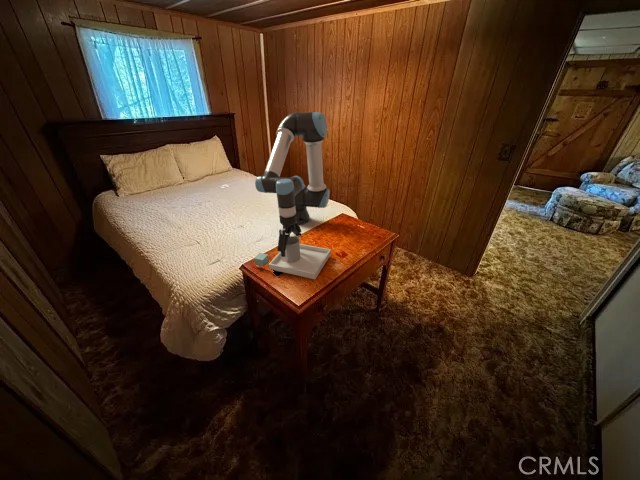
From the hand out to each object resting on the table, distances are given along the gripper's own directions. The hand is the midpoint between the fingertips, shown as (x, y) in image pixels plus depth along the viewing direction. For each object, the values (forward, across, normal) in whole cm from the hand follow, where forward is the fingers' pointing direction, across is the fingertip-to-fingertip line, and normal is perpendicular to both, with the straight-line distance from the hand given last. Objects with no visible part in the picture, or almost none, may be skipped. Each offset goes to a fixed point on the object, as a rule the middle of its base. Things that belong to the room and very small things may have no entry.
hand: (291, 253), depth 125 cm
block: (+5, +7, -13) cm, 16 cm away
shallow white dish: (+5, 0, +5) cm, 7 cm away
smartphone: (+5, +7, -6) cm, 11 cm away
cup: (+3, 0, 0) cm, 3 cm away
